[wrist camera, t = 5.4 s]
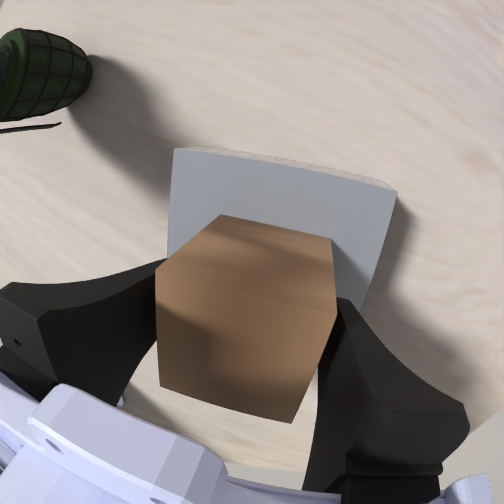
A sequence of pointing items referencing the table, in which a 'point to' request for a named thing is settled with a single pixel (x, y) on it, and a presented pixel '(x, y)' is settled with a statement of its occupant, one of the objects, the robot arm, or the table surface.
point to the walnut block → (245, 316)
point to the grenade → (39, 75)
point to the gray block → (284, 205)
